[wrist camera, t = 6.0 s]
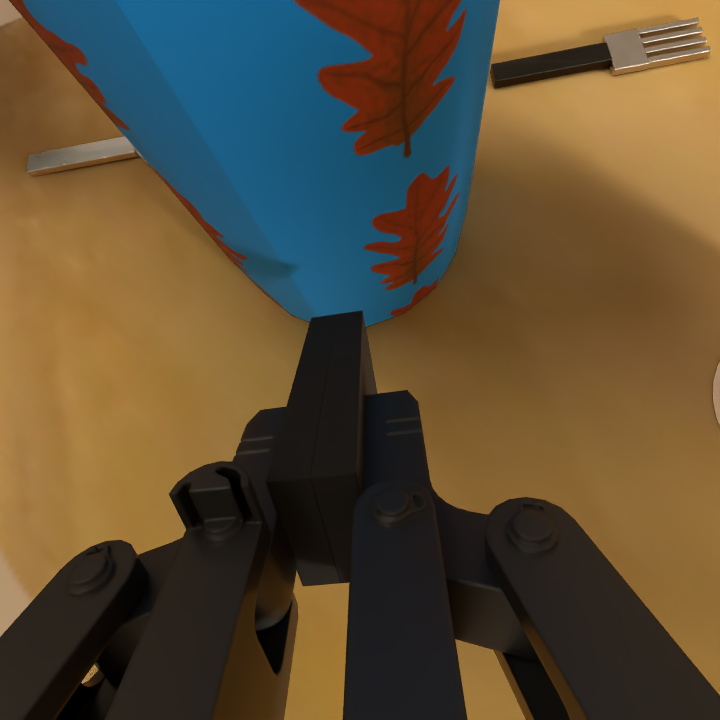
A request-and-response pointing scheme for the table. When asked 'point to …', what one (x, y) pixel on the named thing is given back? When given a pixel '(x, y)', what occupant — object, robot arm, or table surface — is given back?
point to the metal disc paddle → (81, 156)
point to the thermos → (298, 130)
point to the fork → (611, 54)
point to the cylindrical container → (717, 393)
